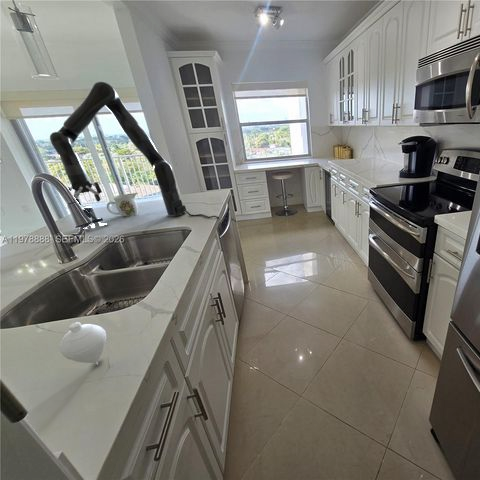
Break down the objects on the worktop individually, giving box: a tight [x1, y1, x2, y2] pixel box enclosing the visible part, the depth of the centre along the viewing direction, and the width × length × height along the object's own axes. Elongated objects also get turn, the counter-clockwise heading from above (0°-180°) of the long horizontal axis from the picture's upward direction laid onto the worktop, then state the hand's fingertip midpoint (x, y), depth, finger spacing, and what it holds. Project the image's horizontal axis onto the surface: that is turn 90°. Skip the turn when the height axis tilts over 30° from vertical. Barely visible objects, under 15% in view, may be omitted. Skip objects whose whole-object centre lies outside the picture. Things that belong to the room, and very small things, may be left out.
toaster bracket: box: [85, 206, 107, 231], centre depth 148 cm, size 12×9×12 cm
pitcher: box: [106, 192, 139, 217], centre depth 164 cm, size 11×18×14 cm, turn 126°
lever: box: [83, 207, 104, 223], centre depth 145 cm, size 12×5×2 cm, turn 62°
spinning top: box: [59, 321, 107, 366], centre depth 57 cm, size 8×8×12 cm
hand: (89, 203), depth 140 cm, fingers open, 8 cm apart
